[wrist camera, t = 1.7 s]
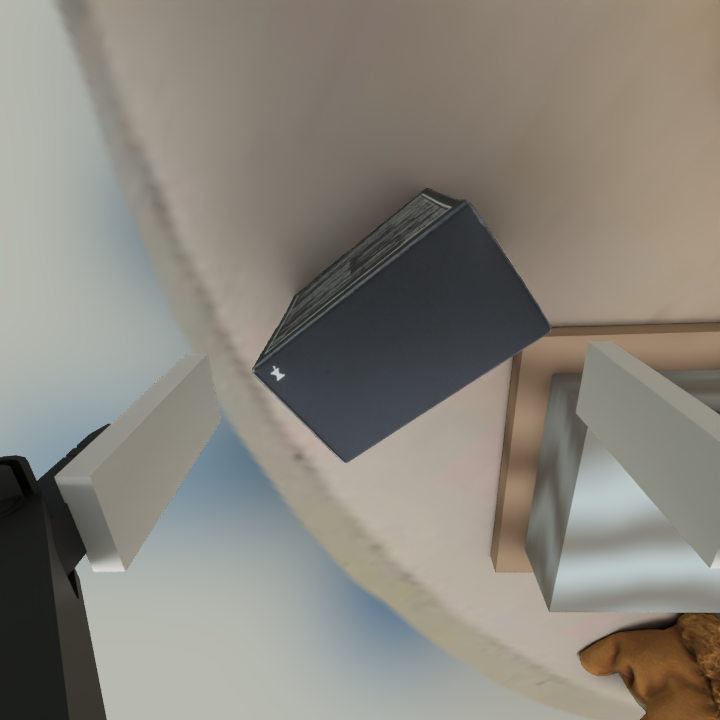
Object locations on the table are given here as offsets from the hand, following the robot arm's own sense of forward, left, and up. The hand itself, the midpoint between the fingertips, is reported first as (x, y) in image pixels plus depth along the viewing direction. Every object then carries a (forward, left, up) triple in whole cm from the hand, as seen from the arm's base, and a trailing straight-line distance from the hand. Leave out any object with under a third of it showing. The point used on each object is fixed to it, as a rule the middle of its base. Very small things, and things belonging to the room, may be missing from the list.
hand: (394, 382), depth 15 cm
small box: (0, 0, -12) cm, 12 cm away
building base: (+13, +16, -12) cm, 24 cm away
